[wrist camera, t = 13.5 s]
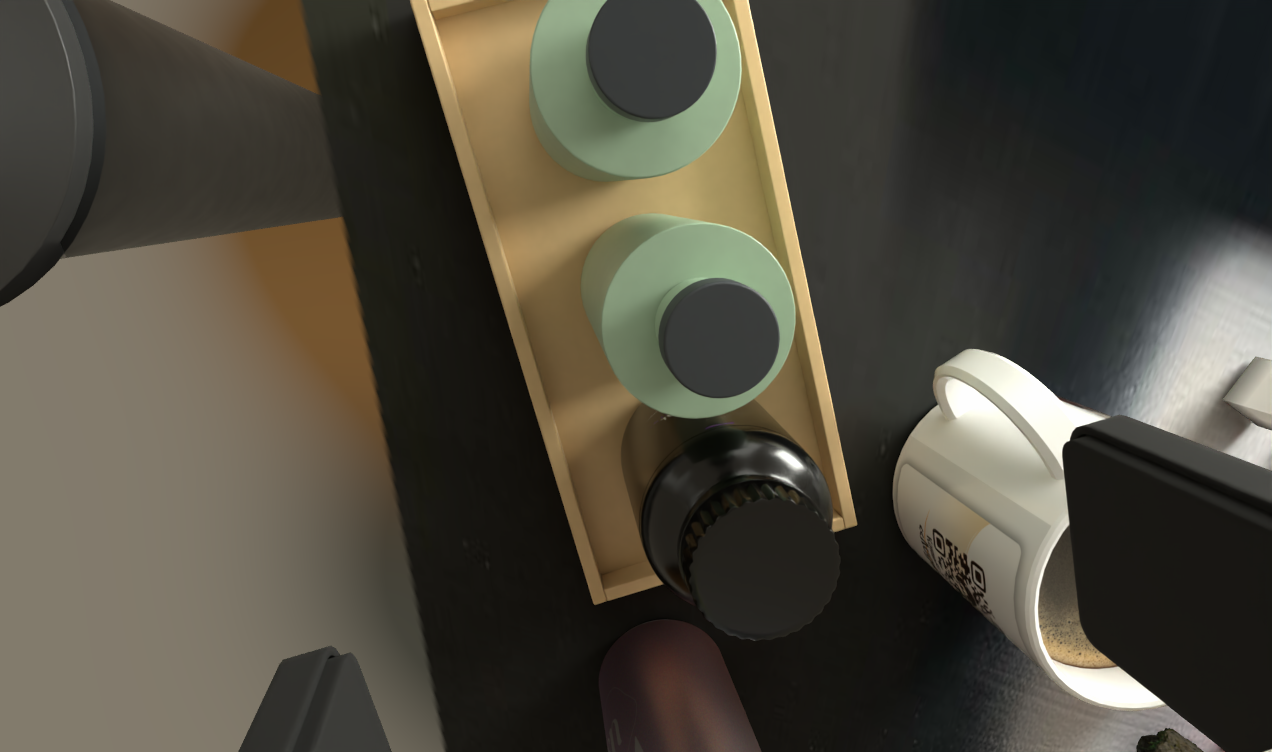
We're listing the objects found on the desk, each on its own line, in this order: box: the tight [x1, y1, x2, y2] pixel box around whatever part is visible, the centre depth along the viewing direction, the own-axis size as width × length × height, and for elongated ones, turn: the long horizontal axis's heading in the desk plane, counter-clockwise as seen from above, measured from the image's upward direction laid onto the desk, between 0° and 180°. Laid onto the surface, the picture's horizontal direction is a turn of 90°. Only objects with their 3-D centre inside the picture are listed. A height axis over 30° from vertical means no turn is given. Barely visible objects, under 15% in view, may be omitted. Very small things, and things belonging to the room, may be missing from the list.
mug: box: [892, 349, 1166, 711], centre depth 34 cm, size 10×12×11 cm
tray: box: [410, 0, 857, 605], centre depth 34 cm, size 12×25×2 cm, turn 15°
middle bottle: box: [580, 213, 795, 419], centre depth 28 cm, size 6×6×13 cm
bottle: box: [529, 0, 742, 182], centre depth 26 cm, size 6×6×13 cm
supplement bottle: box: [621, 399, 841, 641], centre depth 31 cm, size 7×7×12 cm
